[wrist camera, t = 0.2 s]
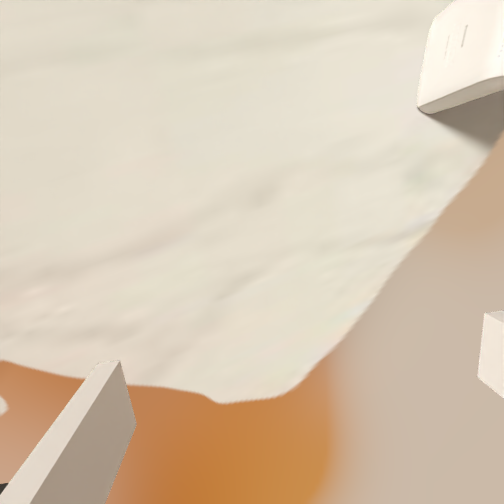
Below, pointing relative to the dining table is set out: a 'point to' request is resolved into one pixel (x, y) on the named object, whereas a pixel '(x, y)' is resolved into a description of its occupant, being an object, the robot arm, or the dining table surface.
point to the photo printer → (463, 55)
